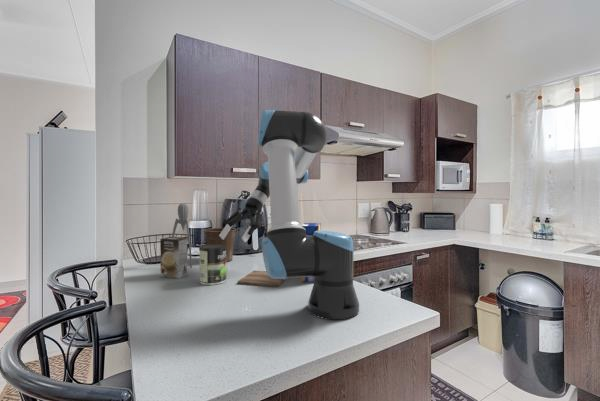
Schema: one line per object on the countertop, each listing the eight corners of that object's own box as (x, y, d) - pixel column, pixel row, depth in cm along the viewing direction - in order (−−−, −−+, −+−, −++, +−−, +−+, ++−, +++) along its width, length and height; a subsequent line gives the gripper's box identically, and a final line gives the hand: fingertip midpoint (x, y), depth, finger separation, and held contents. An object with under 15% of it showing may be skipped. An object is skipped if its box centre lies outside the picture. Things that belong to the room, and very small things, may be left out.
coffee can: (230, 278, 122) (230, 244, 121) (219, 286, 112) (218, 248, 111) (207, 276, 124) (207, 243, 124) (194, 284, 114) (193, 247, 113)
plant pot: (229, 255, 165) (228, 226, 164) (242, 261, 152) (241, 229, 151) (199, 259, 155) (199, 228, 155) (210, 265, 142) (210, 232, 142)
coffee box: (159, 277, 124) (159, 238, 123) (170, 273, 130) (169, 236, 129) (178, 278, 121) (177, 239, 121) (188, 274, 127) (187, 237, 127)
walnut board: (277, 287, 110) (277, 284, 110) (237, 283, 114) (237, 281, 114) (289, 275, 126) (289, 272, 126) (254, 272, 130) (253, 270, 130)
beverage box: (301, 281, 117) (301, 225, 116) (305, 274, 127) (304, 222, 127) (318, 282, 116) (318, 226, 115) (321, 274, 126) (320, 223, 126)
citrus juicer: (191, 262, 149) (190, 202, 148) (202, 265, 143) (201, 203, 142) (168, 267, 140) (167, 203, 139) (179, 270, 134) (178, 204, 133)
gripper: (280, 208, 133) (258, 247, 121) (241, 207, 147) (217, 241, 135) (273, 196, 129) (249, 235, 117) (232, 196, 143) (207, 231, 131)
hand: (232, 239), depth 126 cm, fingers open, 13 cm apart
